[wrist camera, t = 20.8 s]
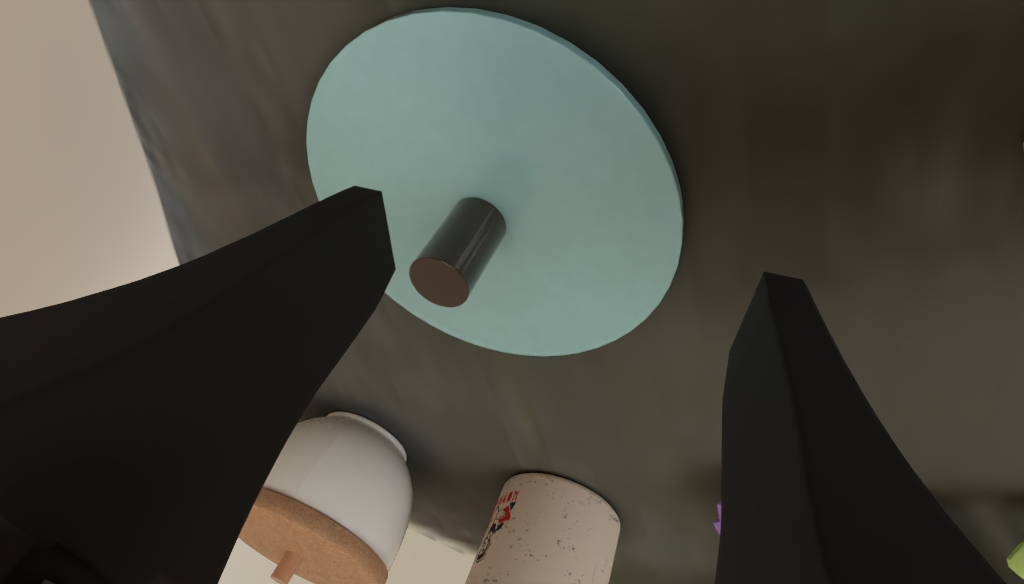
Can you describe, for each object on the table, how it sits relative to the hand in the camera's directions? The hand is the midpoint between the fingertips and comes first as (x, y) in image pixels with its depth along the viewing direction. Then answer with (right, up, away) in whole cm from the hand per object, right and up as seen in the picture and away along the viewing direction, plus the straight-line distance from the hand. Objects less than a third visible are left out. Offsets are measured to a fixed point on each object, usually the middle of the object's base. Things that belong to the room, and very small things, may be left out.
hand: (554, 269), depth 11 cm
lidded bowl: (-12, -12, +33) cm, 38 cm away
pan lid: (-2, +3, +13) cm, 13 cm away
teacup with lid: (+3, -17, +30) cm, 35 cm away
